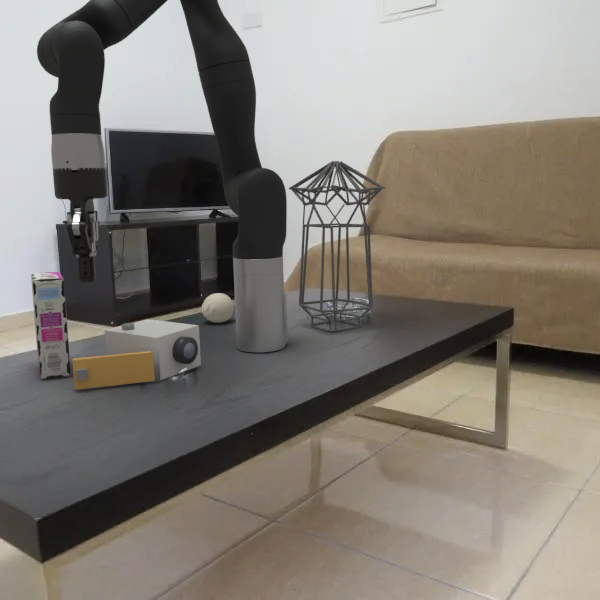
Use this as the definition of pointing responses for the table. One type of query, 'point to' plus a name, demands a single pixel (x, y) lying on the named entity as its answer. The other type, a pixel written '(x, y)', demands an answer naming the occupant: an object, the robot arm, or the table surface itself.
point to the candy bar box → (51, 325)
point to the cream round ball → (217, 308)
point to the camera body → (158, 343)
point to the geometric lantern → (324, 172)
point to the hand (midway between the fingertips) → (88, 281)
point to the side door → (116, 369)
